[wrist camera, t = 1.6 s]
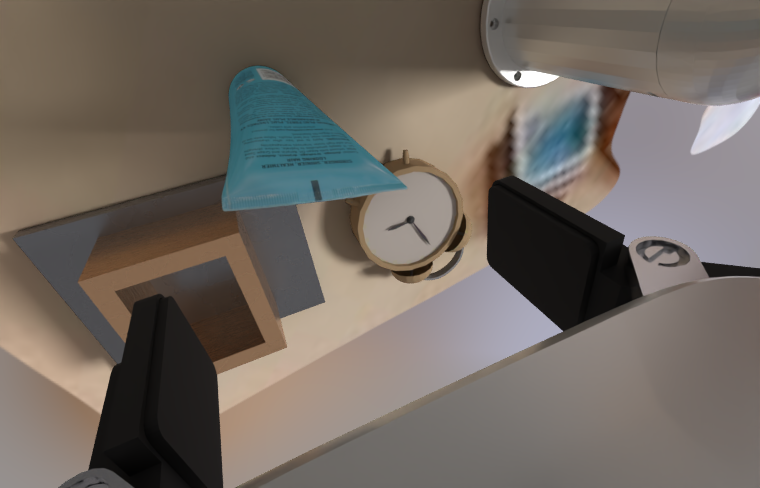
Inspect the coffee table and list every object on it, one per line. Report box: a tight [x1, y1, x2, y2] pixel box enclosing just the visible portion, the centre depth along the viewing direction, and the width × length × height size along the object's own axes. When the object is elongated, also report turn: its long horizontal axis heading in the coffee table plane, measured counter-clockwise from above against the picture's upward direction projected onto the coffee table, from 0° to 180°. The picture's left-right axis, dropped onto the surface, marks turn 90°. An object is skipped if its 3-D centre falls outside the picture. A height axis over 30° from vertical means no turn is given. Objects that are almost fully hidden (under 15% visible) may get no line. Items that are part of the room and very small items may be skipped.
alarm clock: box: [345, 150, 472, 283], centre depth 40 cm, size 11×5×15 cm
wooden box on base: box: [13, 175, 325, 374], centre depth 33 cm, size 20×16×7 cm
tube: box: [221, 66, 408, 211], centre depth 23 cm, size 7×5×19 cm, turn 93°
